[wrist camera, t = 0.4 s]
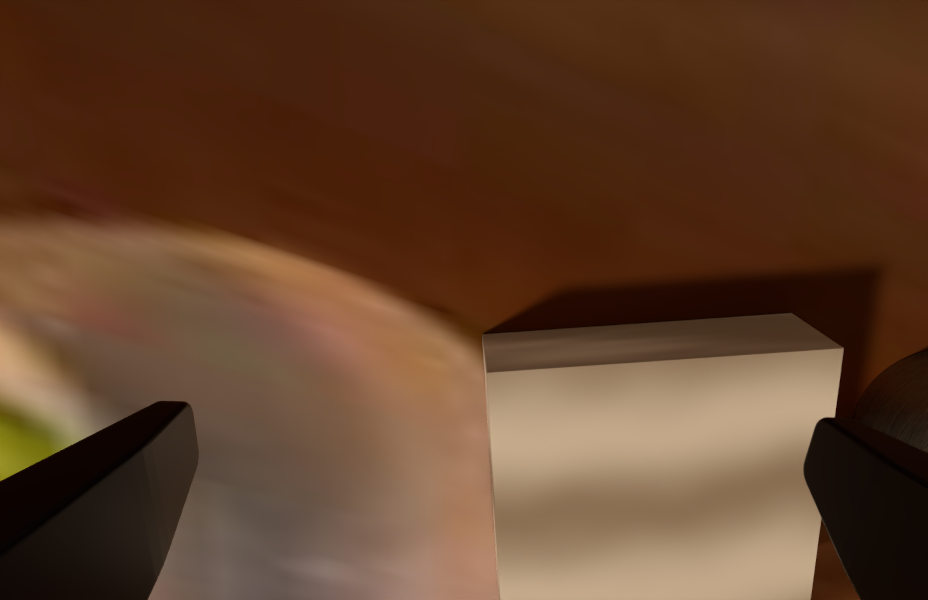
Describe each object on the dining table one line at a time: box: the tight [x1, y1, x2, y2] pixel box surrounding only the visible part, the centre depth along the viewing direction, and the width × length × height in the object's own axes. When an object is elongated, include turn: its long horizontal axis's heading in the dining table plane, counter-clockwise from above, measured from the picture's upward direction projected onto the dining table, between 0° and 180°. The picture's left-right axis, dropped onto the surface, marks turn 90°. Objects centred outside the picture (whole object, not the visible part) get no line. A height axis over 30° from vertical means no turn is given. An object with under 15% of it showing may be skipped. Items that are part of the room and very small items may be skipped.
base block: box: [482, 313, 844, 600], centre depth 25 cm, size 12×12×4 cm
